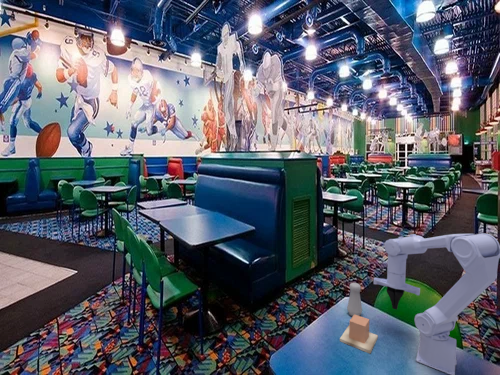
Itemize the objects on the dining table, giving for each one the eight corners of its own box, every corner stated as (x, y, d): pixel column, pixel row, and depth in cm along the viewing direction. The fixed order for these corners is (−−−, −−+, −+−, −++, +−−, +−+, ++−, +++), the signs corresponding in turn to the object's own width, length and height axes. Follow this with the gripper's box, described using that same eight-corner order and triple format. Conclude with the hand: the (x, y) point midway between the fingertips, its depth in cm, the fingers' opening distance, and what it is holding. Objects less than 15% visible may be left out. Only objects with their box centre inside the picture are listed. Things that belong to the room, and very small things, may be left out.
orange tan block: (368, 335, 91) (369, 319, 91) (364, 343, 87) (365, 326, 87) (353, 330, 95) (354, 314, 94) (349, 337, 91) (349, 320, 90)
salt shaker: (364, 318, 103) (365, 287, 102) (350, 318, 104) (350, 287, 103) (358, 310, 109) (359, 280, 108) (345, 310, 109) (345, 280, 108)
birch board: (377, 337, 92) (377, 335, 92) (370, 353, 84) (370, 351, 84) (349, 327, 98) (349, 324, 98) (339, 341, 90) (339, 338, 90)
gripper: (421, 273, 92) (420, 309, 93) (377, 263, 101) (376, 297, 102) (419, 279, 86) (417, 318, 87) (372, 269, 95) (371, 304, 96)
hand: (395, 307), depth 94 cm, fingers closed
